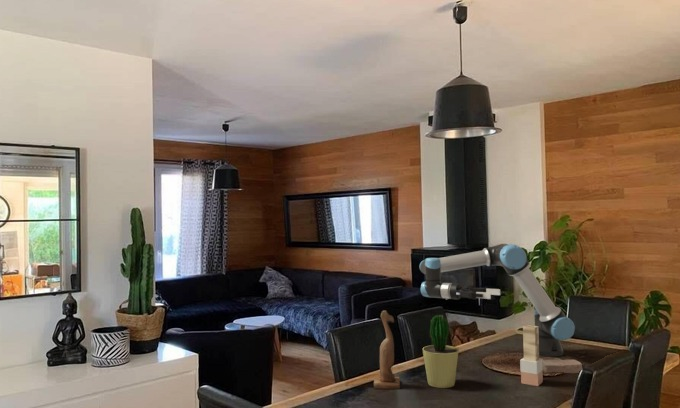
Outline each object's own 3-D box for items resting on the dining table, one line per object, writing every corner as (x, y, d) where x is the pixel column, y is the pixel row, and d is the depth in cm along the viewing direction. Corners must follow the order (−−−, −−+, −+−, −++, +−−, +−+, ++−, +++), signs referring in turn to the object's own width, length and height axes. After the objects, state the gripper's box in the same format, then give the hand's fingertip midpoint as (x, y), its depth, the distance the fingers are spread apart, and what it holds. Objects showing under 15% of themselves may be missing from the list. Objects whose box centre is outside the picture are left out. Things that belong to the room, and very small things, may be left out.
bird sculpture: (401, 390, 215) (402, 313, 217) (373, 389, 216) (374, 312, 217) (399, 382, 226) (399, 308, 228) (372, 381, 227) (373, 308, 228)
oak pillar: (527, 357, 225) (526, 325, 226) (539, 359, 222) (538, 326, 222) (523, 359, 221) (522, 326, 222) (535, 361, 218) (534, 328, 218)
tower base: (526, 379, 226) (525, 367, 226) (542, 382, 222) (542, 370, 222) (521, 383, 221) (520, 371, 221) (538, 386, 216) (537, 374, 217)
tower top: (526, 367, 226) (526, 356, 227) (542, 370, 222) (542, 358, 222) (520, 371, 221) (520, 359, 221) (536, 374, 217) (536, 362, 217)
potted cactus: (452, 391, 211) (450, 318, 212) (417, 385, 219) (416, 315, 220) (464, 381, 224) (462, 312, 225) (431, 376, 232) (429, 309, 233)
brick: (545, 373, 234) (545, 363, 235) (540, 368, 243) (539, 358, 243) (583, 374, 233) (582, 363, 233) (576, 369, 241) (576, 359, 241)
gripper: (461, 295, 259) (504, 298, 247) (441, 302, 239) (486, 306, 227) (461, 280, 260) (503, 283, 247) (441, 286, 239) (485, 289, 227)
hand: (495, 294), depth 237 cm, fingers open, 13 cm apart
